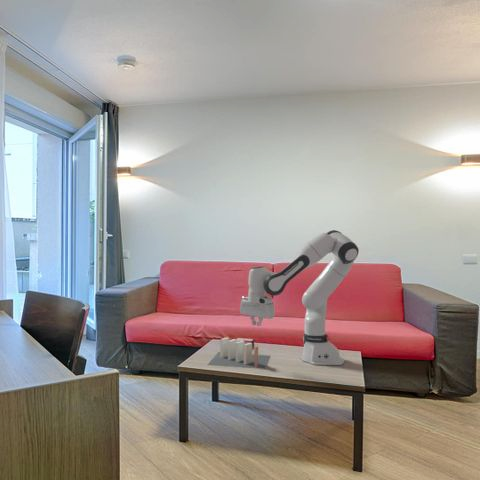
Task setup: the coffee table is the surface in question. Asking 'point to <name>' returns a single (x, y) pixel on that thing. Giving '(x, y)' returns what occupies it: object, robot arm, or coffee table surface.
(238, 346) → the domino
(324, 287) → the robot arm
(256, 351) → the domino
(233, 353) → the domino
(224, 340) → the domino
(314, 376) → the coffee table surface
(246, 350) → the domino
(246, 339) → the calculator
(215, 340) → the coffee table surface
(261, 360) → the domino mat
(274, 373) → the coffee table surface
